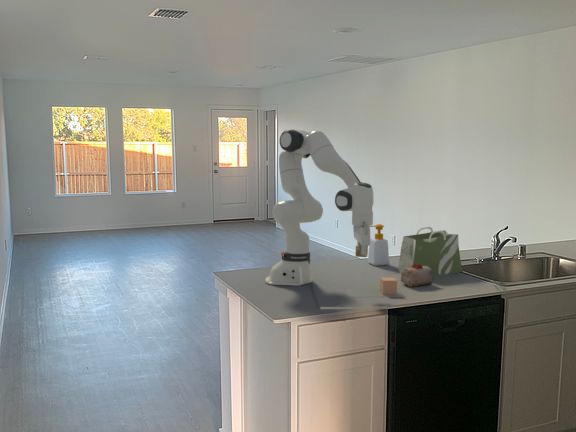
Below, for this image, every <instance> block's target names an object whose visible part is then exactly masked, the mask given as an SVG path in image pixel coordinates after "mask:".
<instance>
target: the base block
mask: <svg viewBox="0 0 576 432" xmlns="http://www.w3.org/2000/svg"><path fill="white" fill-rule="evenodd" d="M379 280H380V281H379V289H380V291H381V293H382V294H397V288H398V280H397V279H396V278H395V277H393V276H392V277H390V276H389V277H387V276H386V277H380V278H379Z"/></svg>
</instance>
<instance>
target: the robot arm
mask: <svg viewBox="0 0 576 432" xmlns="http://www.w3.org/2000/svg"><path fill="white" fill-rule="evenodd" d="M279 145H280V148H281V149H282V150H283V151H282V152H280V154H279V156H278V169H279V175H280V177H279V178H280V181H281V188H282V190H283V191H284V192H285V193H286V194H288V195H289V196H290V197H292V199H293V200H283V201H280V202H279V201H278V202H276V203H275V204H274V205H273V208H272V210H271V211H272V213H271V214H272V218H273V219H274V221H275V222H276V223H277V224H278V225H280V227H281V229H282V230H283V233H284V236H285V251H281V252H280V256H281V260H279V262H277V263H276V264H275V265H273V266H272V267H271V268H270V272H269V275H268V276H266V277H265V280H264V281H265V283H266V284H268V285H271V286H272V285H273V286H275V285H276V286H295V287H297V286H298V287H299V286H302V285H306V284H311V283H312V282H313V277H312V274H311V266H310V265H311V252H310V236H309V234H308V233H307V232H305V231H303V230H302V229H301V225H300V224H304V223H313V222H316V221H318V220H320V219H321V218H322V216H323V215H324V214H323V213H324V210H323V205H322V204H321V202H320V201H318V200H317V199H316V198H314V196H313V195H312V194H311V193H310V191H309V188H308V187H307V184H306V181H305V180H306V179H305V176H304V169H303V166H302V161H303V159H308V158H309V157H311V159H312V161H313V164H314V165H315V166H316V167H317V168H318V169H319V170H320V171H321V172H325V173H328V174H332V175H335V176H337V177H339V178H340V179H341V180H343V182H344V184H345V185H346V186H347V188H344V189H340V190H339V191H338V192H336V194H335V196H334V197H335V198H334V204H335V206H336V208H337V209H338V210H339V211H341V212H352V213H351V224H352V226H353V227H352V228H353V237H354V239H355V240H356V242H357V243H356V244H357V245H361V254H365V252H366V246H368V247H369V246H370V239H371V227H370V226H374V225H373V224H374V211H373V207H374V206H373V205H374V190H373V189H374V188H373V187H372V184H370V183H367V182H361V180H360V179H359V177H358V176H357V175H356V173H355V172H354V171H353V169H352V167H351V166H350V164H348V163H347V161H345V160H344V159H343V158H342V157H341V156H340V154H339V153H338V152H337V150H336V148H335V147H334V145H333V144H332V142H331V141H330V139H329V138H328V136H327V135H326V133H324V132H323V131H321V130H313V131H312V132H308V131H306V130H299V129H298V130H297V129H292V128H291V129H286V130H284V131H283V132H282V133H281V134H280V136H279Z"/></svg>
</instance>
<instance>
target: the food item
mask: <svg viewBox="0 0 576 432" xmlns="http://www.w3.org/2000/svg"><path fill="white" fill-rule="evenodd" d="M432 281H433V276H432V271H431V268H429V267H428V266H421V265H420V264H418V265H415V264H413V265H412V267H411V268H405V269H404V270H403V271H402V272H401V274H400V282H401V283H403V284H404V285H406V286H407V287H409V288H413V287H420V286H428V285H432V284H433V282H432Z"/></svg>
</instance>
